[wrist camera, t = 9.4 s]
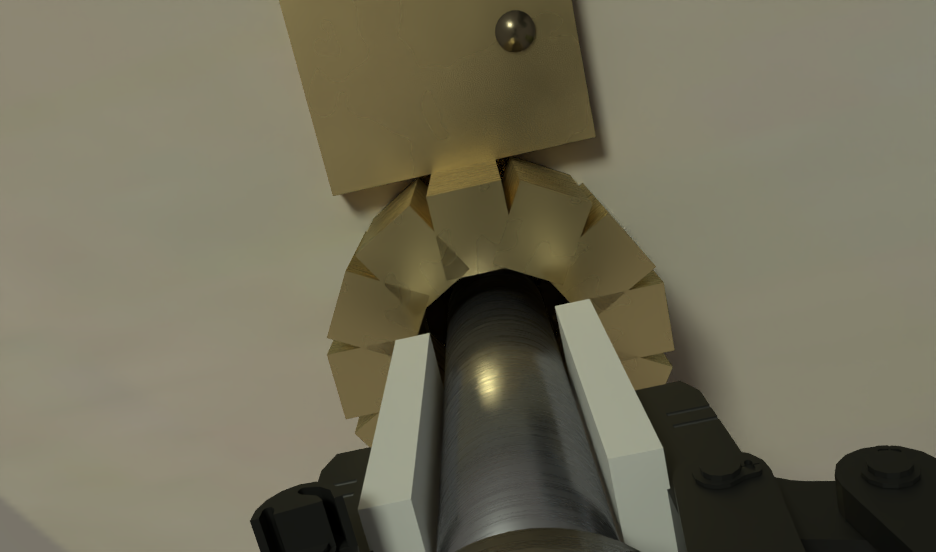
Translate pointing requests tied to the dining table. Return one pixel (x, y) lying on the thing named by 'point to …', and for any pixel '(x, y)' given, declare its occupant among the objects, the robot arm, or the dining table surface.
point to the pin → (513, 431)
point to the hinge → (462, 174)
